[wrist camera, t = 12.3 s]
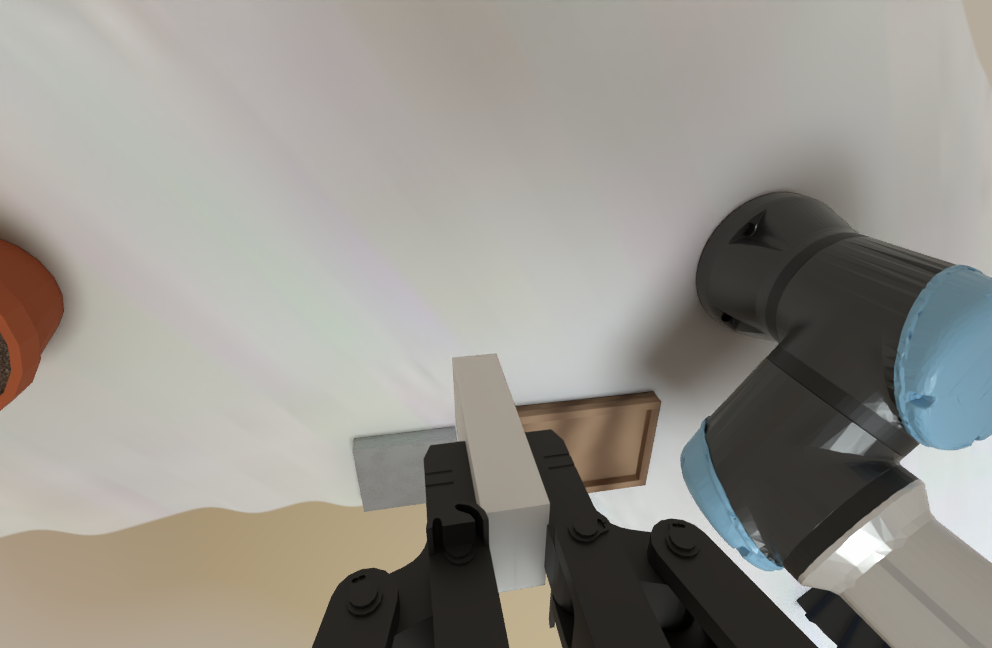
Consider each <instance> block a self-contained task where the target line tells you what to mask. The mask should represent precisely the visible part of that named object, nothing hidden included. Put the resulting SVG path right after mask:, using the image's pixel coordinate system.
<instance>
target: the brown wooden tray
mask: <svg viewBox="0 0 992 648" xmlns="http://www.w3.org/2000/svg"><path fill="white" fill-rule="evenodd" d="M660 406H661V401H660V399H659V398H658V397H657V396H656V394H655V393H654V392H646V393H636V394H627V395H618V396H609V397H599V398H590V399H581V400H571V401H562V402H553V403H544V404H534V405H525V406H516V410H517V413H518V415H519V418H520V421H521V424H522V427H523V429H524V432H532V431H540V430H548V429H552V430H553V431H554V432H555V433H556V434H557V435H558V436H559V437H561V438H562V439H563V440H564V442H565V445H566V447H567V449H568V451H569V455H570V456H571V458H572V460H573V462H574V466H575V467H576V469H577V471H578V473H579V475H580V477H581V480H582V482H583V484H584V486H585V488H586V490H587V493H592V492H599V491H606V490H613V489H620V488H628V487H635V486H642V485H645V484H646V479H647V474H648V468H649V463H650V458H651V453H652V447H653V442H654V437H655V432H656V427H657V421H658V416H659V411H660Z"/></svg>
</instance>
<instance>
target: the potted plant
mask: <svg viewBox="0 0 992 648" xmlns="http://www.w3.org/2000/svg"><path fill="white" fill-rule="evenodd" d="M63 312H64V308H63V296H62V293H61V291H60V289H59V287H58V285H57V283H56V281H55V279H54V277H53V276H52V275H51V274H50V272H49V271H48V270H47V269H46V268H45V267H44V266H43V265H42V264H41V262H40V261H39V260H37V259H36V258H34V257H33V256H31V255H30V254H29V253H27V252H26V251H24V250H23V249H21V248H20V247H18V246H16V245H14V244H11V243H9V242H7V241H4V240H2V239H0V410H2V409H3V408H4V407H5V406H7V405H8V404H9V403H10V402H12V401H13V400H14V399H15V398H16V397H17V396H18V395H19V394H20V393H21V392H22V391H24V390H25V389H26V388H27V387H28V386H29V385H30V384H31V383H32V382H33V379H34V377H35V374H36V371H37V368H38V366H39V363H40V360H41V356H40V355H41V354H42V352H43V350H44V349H45V347H46V345H47V344H48V342H49V341H50V339H51V337H52V336H53V334H54V332H55V331H56V329H57V327H58V326H59V323H60V320H61V318H62V315H63Z"/></svg>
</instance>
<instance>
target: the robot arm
mask: <svg viewBox="0 0 992 648" xmlns="http://www.w3.org/2000/svg"><path fill="white" fill-rule="evenodd" d="M697 292H698V296H699V299H700V302H701V304H702V306H703V308H704V309H705V310H706V312H707V313H708V314H709V315H710V316H711V317H712V318H714V319H715V320H716V321H718V322H719V323H721V324H722V325H723V326H725V327H726V328H728V329H730V330H732V331H735V332H737V333H741V334H745V335H749V336H753V337H758V338H762V339H766V340H770V341H775V342H778V343H779V344H778V346H777V347H776V348H775V349H774V350H773V351H772V352H771V353H770V354H769V355H768V356H767V357H766V358H765V359H764V360H763V361H762V362H761V363H760V364H759V365H758V366H757V367H756V369H755V370H754V371H753V372H752V373H751V374H750V375H749V376H748V377H747V378H746V379H745V380H744V381H743V382H742V384H741V385H740V386H739V387H738V388H737V389H736V390H735V391H734V392H733V393H732V394H731V395H730V396H729V397H728V398H727V400H726V401H725V402H724V403H723V404H722V405H721V406H720V407H719V408H718V409H717V410H716V411H715V412H714V413H713V414H712V415H711V416H708V417H707V418H706V419H705V420H704V421H703V422H702V424H701V427H700V428H699V430H698V431H697V432H696V433H695V435H694V436H693V437H692V438H691V439H690V441H689V442H688V443H687V444H686V445H685V447H684V448H683V451H682V453H681V460H680V461H681V469H682V474H683V478H684V481H685V483H686V485H687V488H688V490H689V492H690V493H691V495H692V497H693V499H694V500H695V502H696V504H697V505H698V507H699V508H700V510H701V511H702V513H703V514H704V516H705V517H706V518H707V520H708V521H709V522H710V524H711V525H712V526H713V527H714V529H715V530H716V531H717V532H718V533H719V535H720V536H721V537H722V538H723V539H724V540H725V541H726V542H727V543H728V544H729V545H730V546H731V547H732V548H736V549H737V550H738V551H739V553H740V554H741V556H742V557H743V558H744V559H745V560H747V561H748V562H749V563H751V564H752V565H754V566H755V567H757V568H760V569H762V570H764V571H774V570H781V569H783V568H785V569H786V570H787V571H788V572H789V573H790V574H791V575H792V576H793V577H794V578H795V579H796V580H797V581H798V582H799V583H800V584H801V585H803V586H808V587H813V588H818V589H823V590H828V591H831V592H833V593H835V594H838V595H839V596H840V597H841V598H842V599H843V600H844V601H845V602H846V603H847V604H848V605H849V606H850V607H851V608H852V609H853V610H854V611H855V612H856V613H857V614H858V615H859V616H860V617H861V618H862V619H863V620H864V621H865V622H866V623H867V624H868V625H869V626H870V627H871V628H872V629H873V630H874V631H875V632H876V633H877V634H878V635H879V636H880V637H881V638H882V639H883V640H884V641H885V642H886V643H887V644H888V645H889V646H890V647H891V648H992V563H991V562H989V561H988V560H987V559H986V558H984V557H983V556H982V555H980V554H979V553H978V552H977V551H975V550H974V549H973V548H972V547H970V546H969V545H968V544H966V543H965V542H964V541H963V540H961V539H960V538H959V537H957V536H956V535H955V534H954V533H952V532H951V531H950V530H949V529H947V528H946V527H945V526H943V525H942V524H941V523H940V522H938V521H937V520H936V519H935V517H934V516H933V515H932V514H931V512H930V507H929V502H928V497H927V492H926V487H925V484H924V482H923V481H921V480H920V479H918V478H917V477H916V476H914V475H913V474H912V473H910V472H909V471H908V470H906V469H905V468H904V467H902V466H901V465H900V463H899V462H900V461H901V460H902V459H903V458H904V457H905V456H906V455H907V454H909V453H910V452H911V451H912V450H913V449H914V448H915V447H917V446H918V445H919V444H920V443H921V444H922V445H924V446H927V447H934V448H937V449H940V450H958V449H962V448H966V447H968V446H971V444H972V443H973V442H974V440H977V441H978V440H984V439H985V438H987V437H989V436H990V435H992V278H991V277H988V276H986V275H984V274H983V273H982V272H981V271H979V270H977V269H975V268H972V267H969V266H965V265H955V264H952V263H949V262H946V261H943V260H940V259H936V258H933V257H930V256H927V255H924V254H921V253H918V252H914V251H911V250H908V249H905V248H902V247H899V246H896V245H892V244H889V243H886V242H883V241H880V240H877V239H874V238H870V237H867V236H864V235H861V234H858V233H857V232H856V231H855V230H854V229H853V228H852V227H851V226H849V225H848V224H847V223H846V222H845V221H844V220H843V219H842V218H840V217H839V216H838V215H837V214H836V213H835V212H834V211H833V210H831V209H830V208H829V207H828V206H827V205H825V204H824V203H822V202H820V201H818V200H816V199H813V198H810V197H806V196H803V195H799V194H796V193H789V192H778V193H771V194H767V195H763V196H760V197H758V198H755V199H753V200H751V201H749V202H747V203H746V204H744V205H742V206H741V207H739V208H738V209H737V210H735V211H734V212H733V213H732V214H730V215H729V216H728V217H727V218H726V219H725V220H724V221H723V222H722V223H721V224H720V226H719V227H718V228H717V229H716V231H715V232H714V233H713V235H712V236H711V238H710V239H709V241H708V243H707V245H706V246H705V249H704V251H703V253H702V256H701V258H700V262H699V266H698V271H697ZM452 362H453V380H454V398H455V417H456V427H457V433H458V439H459V442H452V443H444V444H436V445H430V447H429V449H428V451H427V453H426V455H425V457H424V474H425V491H426V507H427V526H426V533H427V543H426V545H425V548H424V549H423V551H422V552H421V554H420V555H419V556H418V557H417V558H416V559H415V560H414V561H413V562H411V563H409V564H408V565H406V566H405V567H403V568H401V569H399V570H396V571H394V572H392V573H390V574H389V573H387V572H386V571H384V570H380V569H376V568H369V569H362V570H359V571H357V572H355V573H353V574H350V575H349V576H348V577H346V578H345V579H344V580H343V581H342V582H341V583H340V584H339V585H338V586H337V588H336V590H335V591H334V593H333V595H332V597H331V599H330V602H329V604H328V607H327V610H326V612H325V615H324V618H323V620H322V623H321V625H320V628H319V631H318V633H317V636H316V638H315V641H314V644H313V646H312V648H509V644H508V639H507V634H506V629H505V623H504V618H503V613H502V608H501V603H500V598H499V593H500V592H505V591H512V590H518V589H523V588H529V587H534V586H540V585H545V574H547V577H548V580H549V584H550V587H551V597H550V611H549V625H550V628H552V627H554V625H555V623H556V626H557V630H558V633H559V637H560V640H561V644H562V647H563V648H818V647H817V646H816V645H815V644H814V643H813V642H812V641H811V640H810V639H809V638H808V637H807V636H806V635H805V634H804V633H803V632H802V631H801V630H800V629H799V628H798V627H797V626H796V625H795V624H794V623H793V622H792V621H791V620H790V619H789V618H788V617H787V616H786V615H785V614H784V613H783V612H782V611H781V610H780V609H779V608H778V607H777V606H776V605H775V604H774V602H773V601H772V600H771V599H770V598H769V597H768V596H767V595H766V594H765V593H764V592H763V591H762V590H761V589H760V588H759V587H758V586H757V585H756V584H755V583H754V582H753V581H752V580H751V579H750V578H749V577H748V576H747V575H746V574H745V573H744V572H743V571H742V570H741V569H740V568H739V567H738V566H737V565H736V564H735V563H734V562H733V561H732V560H731V559H730V558H729V557H728V556H727V555H726V554H725V553H724V552H723V551H722V550H721V549H720V548H719V547H718V546H717V545H716V544H715V543H714V542H713V541H712V540H711V539H710V538H709V537H708V536H707V535H706V534H705V533H704V532H703V531H702V530H700V529H699V528H698V527H696V526H695V525H693V524H691V523H688V522H686V521H684V520H678V519H666V520H661V521H660V522H658V523H657V524H656V525H654V527H653V529H652V532H645V531H637V530H630V529H625V528H621V527H618V526H616V525H613V524H611V523H610V522H609V521H608V519H607V518H606V517H605V516H603V515H602V514H601V513H599V512H598V511H596V509H595V507H594V506H593V504H592V501H591V499H590V497H589V495H588V493H587V490H586V488H585V486H584V484H583V482H582V480H581V477H580V475H579V473H578V471H577V469H576V467H575V466H574V462H573V460H572V458H571V456H570V455H569V451H568V449H567V447H566V445H565V442H564V440H563V439H562V438H561V437H559V436H558V435H557V434H556V433H555V432H554V431H553V430H552V429H548V430H540V431H532V432H524V429H523V427H522V424H521V421H520V418H519V415H518V413H517V410H516V407H515V404H514V401H513V399H512V396H511V393H510V390H509V387H508V385H507V382H506V379H505V376H504V373H503V371H502V368H501V365H500V362H499V359H498V356H497V354H486V355H476V356H465V357H455V358H452Z"/></svg>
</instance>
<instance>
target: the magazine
mask: <svg viewBox="0 0 992 648" xmlns="http://www.w3.org/2000/svg"><path fill="white" fill-rule="evenodd" d="M797 602H798V603H799V605H800V606H801V607H802V608H803V609H804V611H805V612H806V614H805V616H806V617H807V619H808V620H809V621H811V622H813V623H815V624H816V625H817V626H818V627H819V628H820V629H821V630H822V631H823V633H824V634H825V635H826V636H828V637H829V638H830V639H831V640H832V641H833V642H834V643H835V644H836V645H837V648H891V647H890V646H889V645H888V644H887V643H886V642H885V641H884V640H883V639H882V638H881V637H880V636H879V635H878V634H877V633H876V632H875V631H874V630H873V629H872V628H871V627H870V626H869V625H868V624H867V623H866V622H865V621H864V620H863V619H862V618H861V617H860V616H859V615H858V614H857V613H856V612H855V611H854V610H853V609H852V608H851V607H850V606H849V605H848V604H847V603H846V602H845V601H844V600H843V599H842V598H841V597H840V596H839V595H838V594H835V593H833V592H831V591H828V590H823V589H818V588H812V589H811V590H810V591H808V592H807V593H806V594H805V595H803V596H802V597H801V598H800V599H798V600H797Z"/></svg>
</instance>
